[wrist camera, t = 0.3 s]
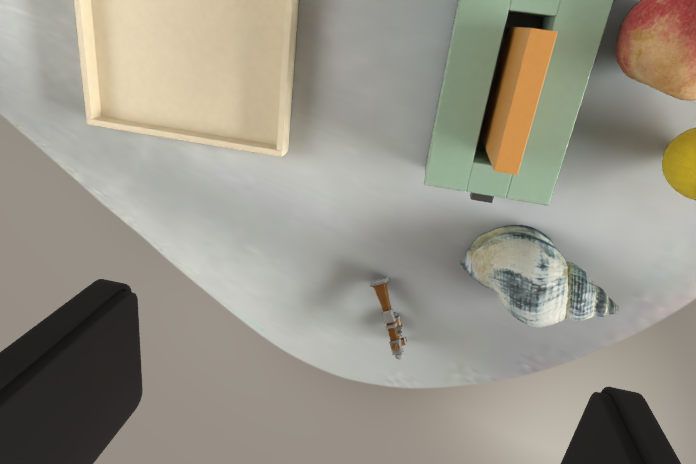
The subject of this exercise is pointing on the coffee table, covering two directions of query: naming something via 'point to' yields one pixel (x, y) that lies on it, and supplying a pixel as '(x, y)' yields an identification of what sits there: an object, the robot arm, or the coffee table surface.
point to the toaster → (477, 86)
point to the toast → (516, 95)
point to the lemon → (682, 163)
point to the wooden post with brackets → (390, 317)
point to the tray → (191, 69)
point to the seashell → (534, 277)
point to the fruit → (660, 46)
